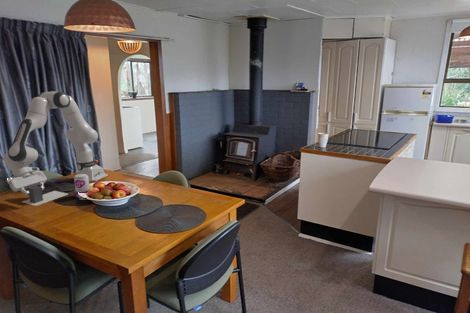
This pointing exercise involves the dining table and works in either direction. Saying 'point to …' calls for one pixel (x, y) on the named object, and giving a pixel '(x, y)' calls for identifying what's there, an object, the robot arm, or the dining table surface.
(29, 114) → the robot arm
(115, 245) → the dining table surface
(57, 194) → the post board
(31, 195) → the dark grey block
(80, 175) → the supplement can
